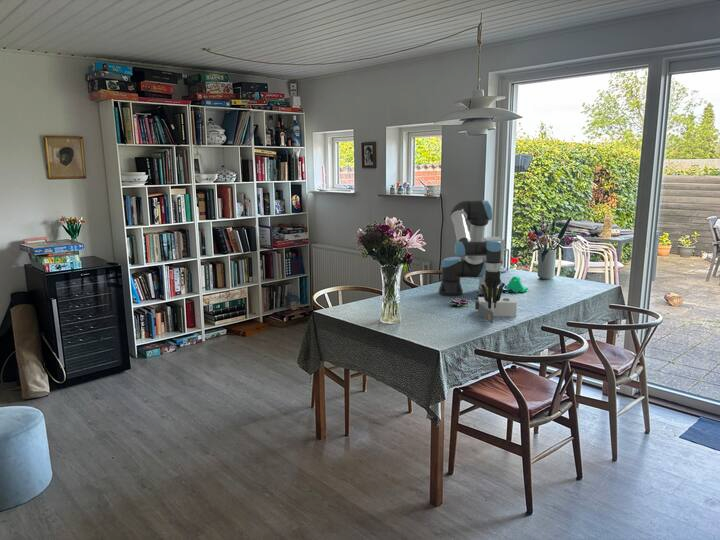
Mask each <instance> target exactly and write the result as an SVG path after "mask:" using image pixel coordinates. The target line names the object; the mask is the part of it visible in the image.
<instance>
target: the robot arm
mask: <svg viewBox="0 0 720 540" xmlns="http://www.w3.org/2000/svg"><path fill="white" fill-rule="evenodd" d="M492 209H493V208H492V204H491V202H490V200H461V201H459V202H457V203H456V204H455V205H454V206H453V207H452V208H451V211H450V216H449V218H450V221H451V223H452V224H453V228H454V233H455V238H456V242H455V243H454V247H453V248H454V254H455V255H456V256H450V257H446V258H443V260H442V262H441V283H440V286H439V288H438V294H439V295H442V296H446V297H459V296H462V295H463V288H462V283H461V279H462V278H464V279H465V278H467V279H468V278H475V279H477V278H479V277H482V276H483V275H484V272H485V281H484V283H481V284H480V286H481V287H482V290H483V293H482V295H483V297H484V299H485V301H486V302H488V308H489V309H490V310H491V311H492V312H493V315H494V308H496V303H497V301H499V300H500V298H502V297H501V296H502V293H503V290H504V287H506V283H505V282H502V280H501V274H500V272H501V271H499V270H501V267H502V266H501V248H502V247H501V242H500V241H497V240H489V241H484V242H483V240H484V237H485V229H486V226H487V225H488V224H489V221H492V220H493V210H492ZM467 221H468V222H467ZM468 223H469V224H470V228H469V226H468ZM460 256H461V257H464V259H463V258H461V257H460ZM482 256H486V264H485V260H484V259H483V257H482ZM485 266H486V271H485ZM485 284H486V285H487V287H488V297H487V292H486V288H485V286H486V285H485ZM492 288H493V298H492ZM497 288H498V292H497ZM496 295H497V296H496ZM492 301H493V302H492Z"/></svg>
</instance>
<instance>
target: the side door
mask: <svg viewBox="0 0 720 540" xmlns="http://www.w3.org/2000/svg"><path fill="white" fill-rule="evenodd" d="M479 315H480V316H479ZM479 315H478V316H479V317H481V318H483V320H486V321H487V322H489V324H493V323H494V322H493V321H494V320H493V319H494V316H493V312H492V311H491V310H489V309H488V308H486V307H485V306H483V305H482V304H479Z"/></svg>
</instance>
